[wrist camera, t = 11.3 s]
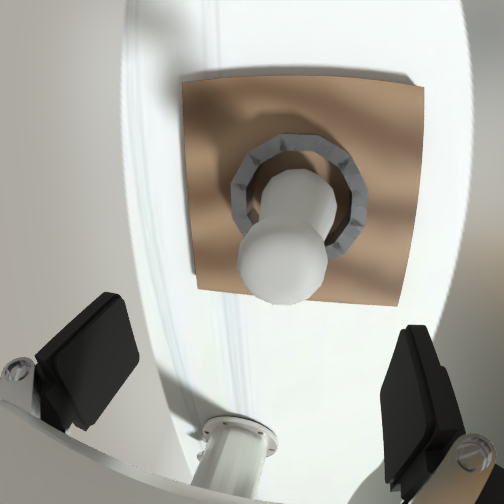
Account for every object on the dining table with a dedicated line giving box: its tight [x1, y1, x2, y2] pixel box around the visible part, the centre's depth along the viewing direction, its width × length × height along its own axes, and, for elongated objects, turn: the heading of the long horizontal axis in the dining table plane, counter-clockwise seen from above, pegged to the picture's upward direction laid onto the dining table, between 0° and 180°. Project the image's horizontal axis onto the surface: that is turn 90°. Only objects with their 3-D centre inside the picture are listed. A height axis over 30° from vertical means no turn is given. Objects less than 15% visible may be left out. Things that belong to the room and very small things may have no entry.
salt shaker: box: [237, 169, 337, 305], centre depth 19 cm, size 6×6×13 cm
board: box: [182, 75, 424, 306], centre depth 26 cm, size 20×20×2 cm
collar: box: [231, 133, 369, 261], centre depth 24 cm, size 10×10×2 cm
